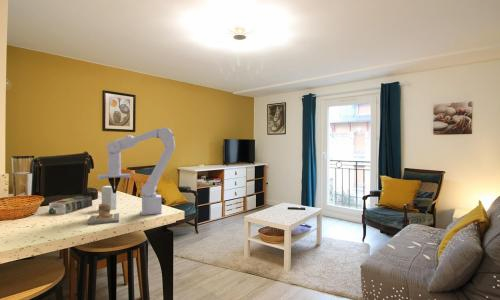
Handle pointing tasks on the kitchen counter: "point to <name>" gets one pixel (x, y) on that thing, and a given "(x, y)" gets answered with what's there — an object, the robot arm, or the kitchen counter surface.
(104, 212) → the tan wooden block
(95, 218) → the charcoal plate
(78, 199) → the juice carton
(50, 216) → the kitchen counter surface
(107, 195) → the skincare box
